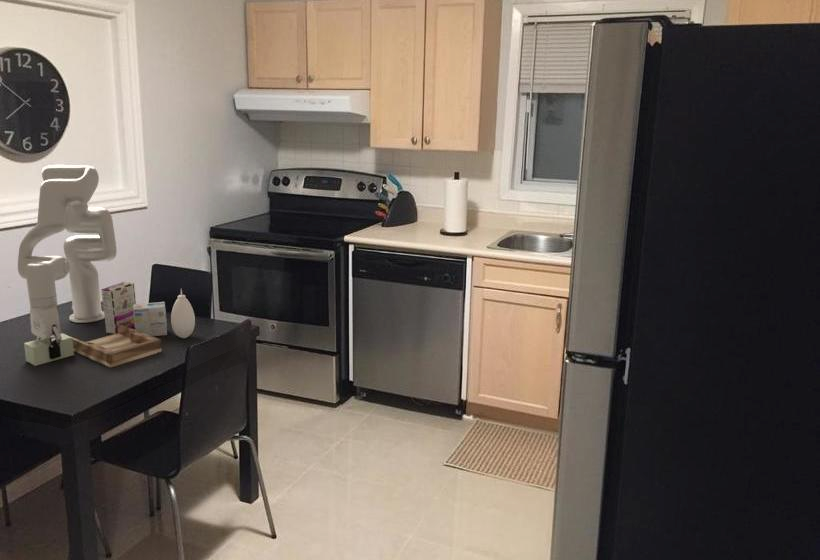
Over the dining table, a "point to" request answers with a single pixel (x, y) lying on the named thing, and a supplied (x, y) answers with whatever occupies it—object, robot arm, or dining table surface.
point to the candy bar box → (118, 306)
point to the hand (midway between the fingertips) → (49, 354)
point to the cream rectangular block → (47, 350)
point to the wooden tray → (118, 347)
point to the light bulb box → (150, 318)
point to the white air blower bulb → (182, 317)
